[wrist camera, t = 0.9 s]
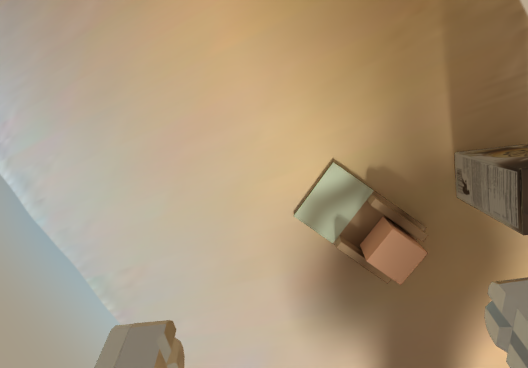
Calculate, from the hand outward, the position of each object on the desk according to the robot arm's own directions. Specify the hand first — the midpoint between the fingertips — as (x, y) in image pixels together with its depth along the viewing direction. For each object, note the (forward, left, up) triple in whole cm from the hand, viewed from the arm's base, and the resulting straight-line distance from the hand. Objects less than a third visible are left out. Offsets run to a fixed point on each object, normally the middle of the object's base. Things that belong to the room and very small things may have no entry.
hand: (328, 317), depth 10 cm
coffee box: (-20, -12, -42) cm, 48 cm away
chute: (-11, +3, -42) cm, 44 cm away
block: (-15, +3, -41) cm, 44 cm away
